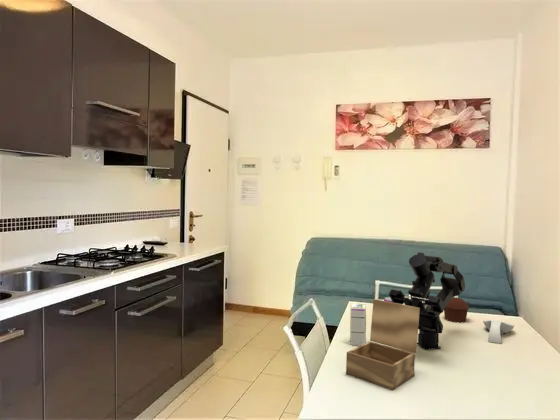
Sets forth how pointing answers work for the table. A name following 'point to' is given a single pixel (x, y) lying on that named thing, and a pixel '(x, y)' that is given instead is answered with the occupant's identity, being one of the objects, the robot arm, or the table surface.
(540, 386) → the table surface
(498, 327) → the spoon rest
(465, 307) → the muffin
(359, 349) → the brown wooden box base
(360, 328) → the syrup box
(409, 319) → the lid
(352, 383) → the table surface
